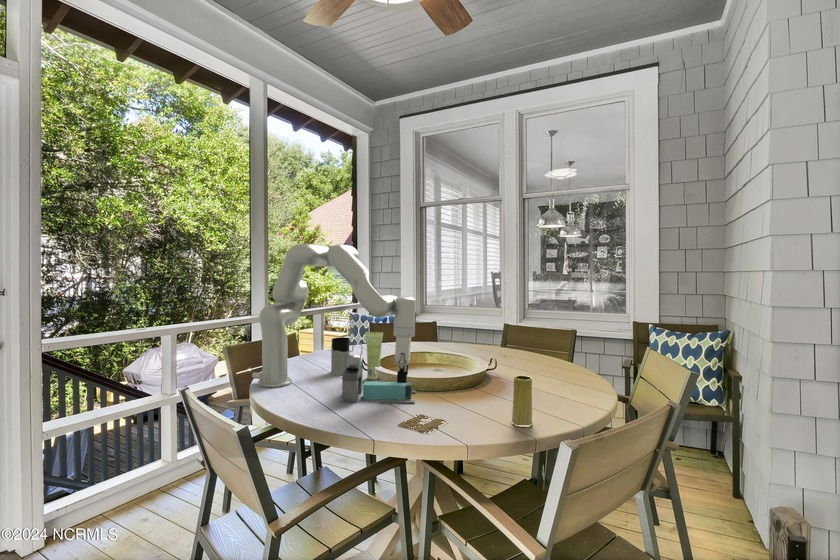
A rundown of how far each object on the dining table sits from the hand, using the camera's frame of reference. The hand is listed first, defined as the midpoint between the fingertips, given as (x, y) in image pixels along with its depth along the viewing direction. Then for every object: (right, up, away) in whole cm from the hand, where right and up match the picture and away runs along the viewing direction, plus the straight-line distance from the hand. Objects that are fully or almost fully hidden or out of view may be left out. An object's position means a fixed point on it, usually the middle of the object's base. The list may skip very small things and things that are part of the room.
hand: (402, 378), depth 155 cm
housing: (-18, -7, 0) cm, 19 cm away
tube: (-13, -6, +25) cm, 29 cm away
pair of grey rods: (-1, -7, 0) cm, 7 cm away
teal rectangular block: (-5, -7, 0) cm, 9 cm away
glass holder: (-26, -5, +34) cm, 43 cm away
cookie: (+7, -8, -25) cm, 27 cm away
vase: (+37, -8, -25) cm, 45 cm away
